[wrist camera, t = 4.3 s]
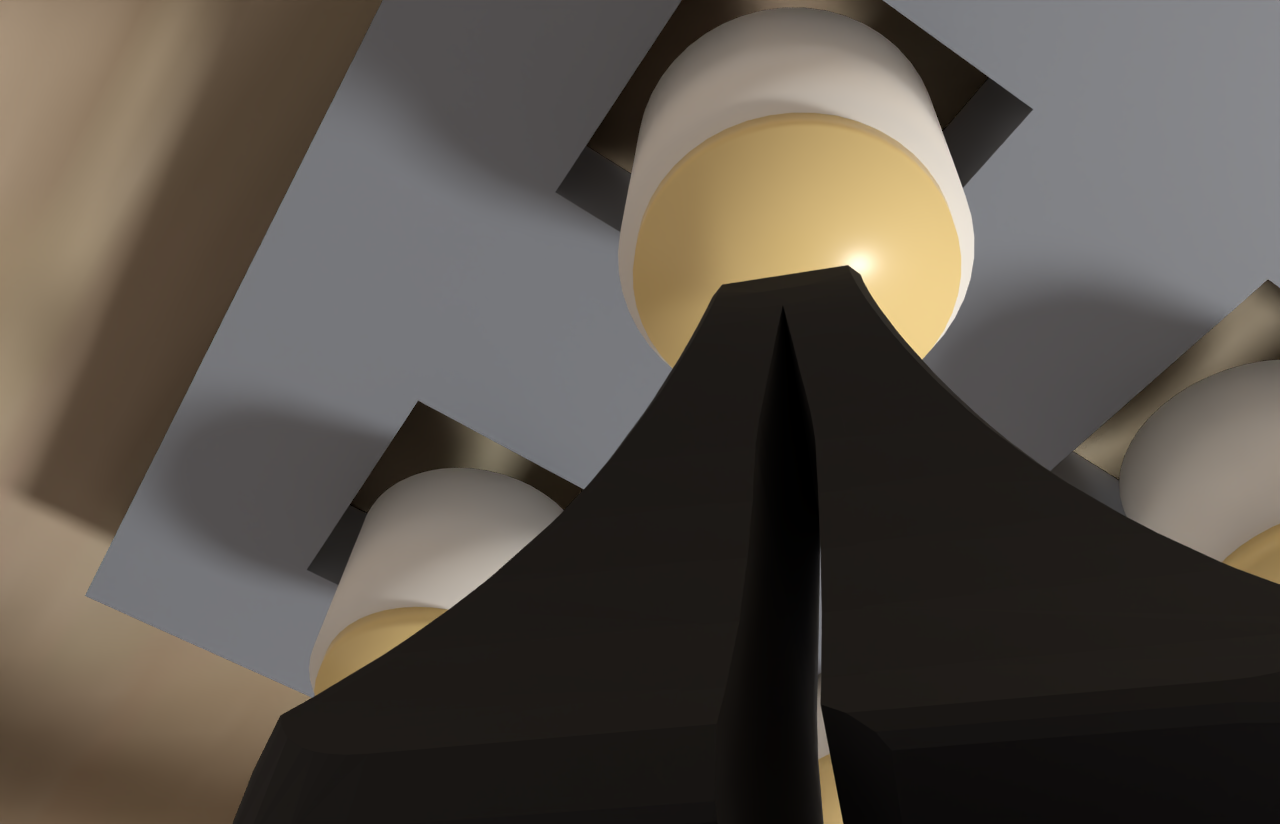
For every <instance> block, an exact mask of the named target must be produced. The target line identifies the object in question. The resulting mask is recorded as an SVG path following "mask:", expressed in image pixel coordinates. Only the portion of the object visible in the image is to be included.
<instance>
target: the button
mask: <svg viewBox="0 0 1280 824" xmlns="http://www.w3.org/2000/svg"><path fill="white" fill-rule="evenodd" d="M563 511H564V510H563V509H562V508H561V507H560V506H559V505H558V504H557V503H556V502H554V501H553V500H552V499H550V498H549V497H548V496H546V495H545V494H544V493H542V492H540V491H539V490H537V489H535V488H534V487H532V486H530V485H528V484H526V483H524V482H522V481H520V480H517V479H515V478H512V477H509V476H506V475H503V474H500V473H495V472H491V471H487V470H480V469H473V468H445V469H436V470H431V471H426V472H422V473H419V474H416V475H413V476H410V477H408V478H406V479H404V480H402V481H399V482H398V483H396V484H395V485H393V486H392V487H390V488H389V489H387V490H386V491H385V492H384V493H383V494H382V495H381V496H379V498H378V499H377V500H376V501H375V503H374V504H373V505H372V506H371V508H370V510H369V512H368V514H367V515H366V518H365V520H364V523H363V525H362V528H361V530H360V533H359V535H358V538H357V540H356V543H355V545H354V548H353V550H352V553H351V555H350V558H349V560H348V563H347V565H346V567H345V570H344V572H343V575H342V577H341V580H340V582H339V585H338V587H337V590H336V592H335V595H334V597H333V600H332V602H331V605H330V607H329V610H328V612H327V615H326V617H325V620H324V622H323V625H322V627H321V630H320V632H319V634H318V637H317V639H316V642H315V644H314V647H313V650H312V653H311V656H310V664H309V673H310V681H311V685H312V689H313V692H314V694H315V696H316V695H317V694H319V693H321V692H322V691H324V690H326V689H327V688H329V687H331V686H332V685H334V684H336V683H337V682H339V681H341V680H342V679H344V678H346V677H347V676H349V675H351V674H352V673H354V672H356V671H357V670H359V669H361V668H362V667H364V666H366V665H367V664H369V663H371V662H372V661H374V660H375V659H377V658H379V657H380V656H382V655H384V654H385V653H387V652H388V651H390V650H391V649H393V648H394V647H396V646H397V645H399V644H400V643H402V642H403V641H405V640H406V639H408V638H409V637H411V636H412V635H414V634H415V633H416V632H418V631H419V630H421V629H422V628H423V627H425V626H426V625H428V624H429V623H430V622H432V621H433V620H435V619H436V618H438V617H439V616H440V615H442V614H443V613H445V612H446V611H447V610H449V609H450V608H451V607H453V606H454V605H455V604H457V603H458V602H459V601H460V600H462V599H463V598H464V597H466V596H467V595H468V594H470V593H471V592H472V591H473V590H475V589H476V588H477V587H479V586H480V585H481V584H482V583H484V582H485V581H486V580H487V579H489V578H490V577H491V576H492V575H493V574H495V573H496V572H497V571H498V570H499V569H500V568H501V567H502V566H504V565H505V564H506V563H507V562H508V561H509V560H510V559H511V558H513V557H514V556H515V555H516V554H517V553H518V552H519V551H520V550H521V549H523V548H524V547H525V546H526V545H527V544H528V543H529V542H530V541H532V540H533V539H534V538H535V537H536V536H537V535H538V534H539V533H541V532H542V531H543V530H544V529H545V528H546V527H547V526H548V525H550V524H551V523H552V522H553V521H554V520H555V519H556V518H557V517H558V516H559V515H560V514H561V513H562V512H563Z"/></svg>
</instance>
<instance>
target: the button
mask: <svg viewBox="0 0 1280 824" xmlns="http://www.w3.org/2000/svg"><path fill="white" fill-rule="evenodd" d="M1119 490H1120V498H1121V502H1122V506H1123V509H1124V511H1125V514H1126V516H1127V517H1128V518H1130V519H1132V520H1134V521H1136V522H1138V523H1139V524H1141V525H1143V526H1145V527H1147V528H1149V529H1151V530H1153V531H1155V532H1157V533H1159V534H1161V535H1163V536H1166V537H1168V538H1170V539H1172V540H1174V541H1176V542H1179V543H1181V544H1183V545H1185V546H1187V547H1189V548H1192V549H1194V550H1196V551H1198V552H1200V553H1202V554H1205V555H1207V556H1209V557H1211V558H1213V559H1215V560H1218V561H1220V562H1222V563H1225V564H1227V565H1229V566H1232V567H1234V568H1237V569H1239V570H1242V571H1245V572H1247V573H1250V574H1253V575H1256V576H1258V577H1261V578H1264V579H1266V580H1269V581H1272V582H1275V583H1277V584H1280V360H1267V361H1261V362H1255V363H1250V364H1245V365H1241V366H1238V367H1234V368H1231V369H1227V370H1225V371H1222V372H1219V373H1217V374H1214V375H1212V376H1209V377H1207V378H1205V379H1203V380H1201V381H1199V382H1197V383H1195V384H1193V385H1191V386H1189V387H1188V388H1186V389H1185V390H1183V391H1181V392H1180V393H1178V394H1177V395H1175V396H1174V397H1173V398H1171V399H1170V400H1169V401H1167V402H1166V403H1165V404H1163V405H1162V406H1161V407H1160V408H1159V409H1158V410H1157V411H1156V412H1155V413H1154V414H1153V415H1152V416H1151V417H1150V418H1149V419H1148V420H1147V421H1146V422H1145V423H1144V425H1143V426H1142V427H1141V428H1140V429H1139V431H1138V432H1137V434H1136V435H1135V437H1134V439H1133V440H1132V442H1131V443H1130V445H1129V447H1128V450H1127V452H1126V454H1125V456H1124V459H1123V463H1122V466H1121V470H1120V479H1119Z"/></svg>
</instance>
